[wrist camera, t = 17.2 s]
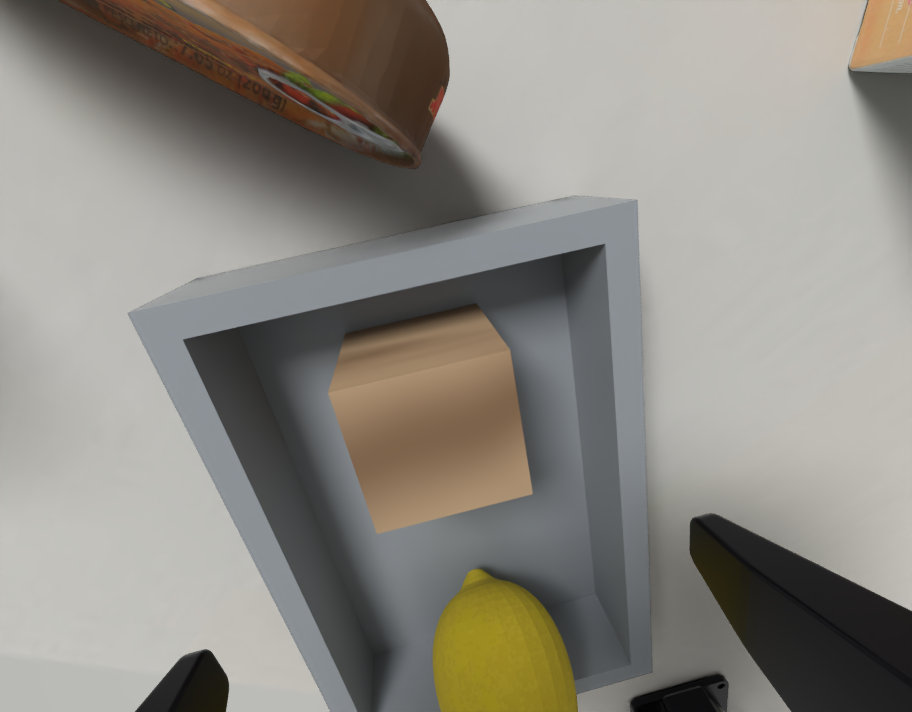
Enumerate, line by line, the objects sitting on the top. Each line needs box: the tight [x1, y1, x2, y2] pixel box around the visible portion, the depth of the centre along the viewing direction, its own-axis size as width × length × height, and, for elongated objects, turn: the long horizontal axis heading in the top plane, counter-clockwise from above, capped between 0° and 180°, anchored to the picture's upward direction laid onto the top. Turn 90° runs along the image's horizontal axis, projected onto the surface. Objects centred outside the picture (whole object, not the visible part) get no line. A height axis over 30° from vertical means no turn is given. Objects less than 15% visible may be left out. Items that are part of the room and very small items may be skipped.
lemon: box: [433, 569, 578, 712], centre depth 18 cm, size 6×6×8 cm
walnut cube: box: [328, 303, 533, 534], centre depth 15 cm, size 5×5×5 cm
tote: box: [128, 196, 652, 712], centre depth 18 cm, size 21×14×4 cm, turn 11°
